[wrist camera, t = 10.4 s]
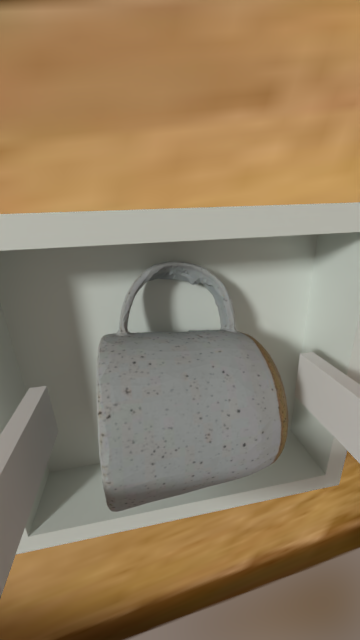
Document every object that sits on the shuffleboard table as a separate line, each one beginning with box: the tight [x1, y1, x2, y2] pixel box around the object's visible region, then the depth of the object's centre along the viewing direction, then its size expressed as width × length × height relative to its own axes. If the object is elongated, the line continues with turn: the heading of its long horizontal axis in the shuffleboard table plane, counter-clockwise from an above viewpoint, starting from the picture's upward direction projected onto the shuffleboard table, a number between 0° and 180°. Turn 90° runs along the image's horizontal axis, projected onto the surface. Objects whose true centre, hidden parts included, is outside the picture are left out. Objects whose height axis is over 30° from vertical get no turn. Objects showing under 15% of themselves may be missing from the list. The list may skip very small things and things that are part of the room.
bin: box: [0, 203, 360, 554], centre depth 15 cm, size 20×17×5 cm
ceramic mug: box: [96, 261, 289, 512], centre depth 13 cm, size 11×8×8 cm
